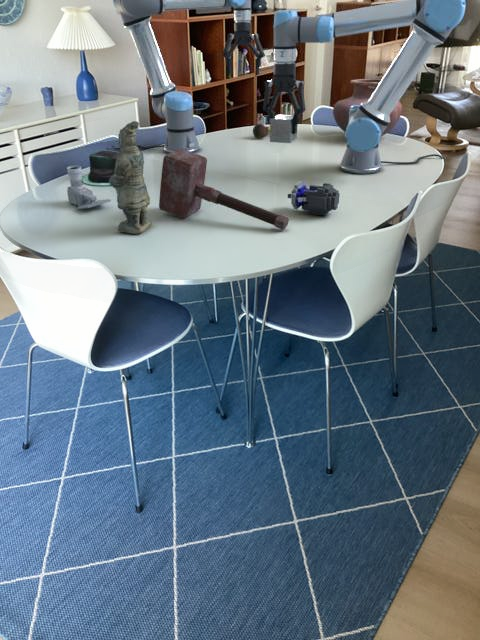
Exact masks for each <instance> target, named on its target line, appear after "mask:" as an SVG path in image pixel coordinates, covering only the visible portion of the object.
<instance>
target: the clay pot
mask: <svg viewBox="0 0 480 640" xmlns="http://www.w3.org/2000/svg"><path fill="white" fill-rule="evenodd" d="M381 80H382V79H379V78H377V79H376V78H358V79H351V80H350V84H351V85H352V86H353V93H352V95H351V96H349V97H348V98H345V99H341V100H338V101H337V102H335V103H334V104H333V109H332V115H333V119H334V121H335V123H336V125H337V126H338V127H339V128H340V130H341V131H342V132H344V133H345V131H346V128H347V126H348V123H349V112H350V107H351V106H353V105H361V104H362V103H364V102H367V101H369V99H370V98H371V96H372V95H373V93H374V91H375V90H376V88H377V87H378V85H379V84H380V82H381ZM402 112H403V105H402V103H401V102H400V100H399V101H398V103H397V104H396V106H395V107H394V109H393V110H392V112H391V113H390V123H389V124H388V126H387V127H386V129H385V130H384V132H383V133H382V135H381V136H380V138H381V137H383V136H385V135H386V134H388V133H390V132H391V131H392V130H393V129H394V128H395V126H396V125H397V123H399V120H400V118H401V115H402Z"/></svg>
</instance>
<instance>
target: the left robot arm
mask: <svg viewBox="0 0 480 640" xmlns="http://www.w3.org/2000/svg"><path fill="white" fill-rule="evenodd" d="M112 4H113V8H114V10H115V12H116V13H117V14H118V15H119V16H120V19H121V21H122V24H123V26H124V29H125V28H126V29H127V30H128V31H130V35H131V37H132V40H133V43H134V45H135V49H136V50H137V54H138V56H139V59H140V62H141V64H142V66H143V69H144V72H145V74H146V77H147V80H148V82H149V85H150V88H151V89H150V92H149V96H150V97H151V106H152V109H153V111H154V114H156V115H157V116H158V117H159V118H160V119H163V120H164V121H165V123H166V124H165V125H166V137H165V142H164V144H161V145H160V144H159V145H153V146H144V145H143V146H142V145H138V144H136V146H137V147H138V148H141V149H144V150H149V149H156V148H164V149H163V150H164V152H165V154H170V153H172V152H174V151H177V150H179V149H184V150H187V151H190V152H192V153H196V152H199V151H200V144H199V141H198V138H197V135H196V133H195V123H194V101H193V97H192V95H191V94H190V92H189V93H188V92H187V91H180V90H178V89H177V87H176V84H175V83H173V82H172V81H171V80H170V77H169V74H168V71H167V68H166V65H165V63H164V60H163V57H162V54H161V52H160V48H159V46H158V43H157V40H156V37H155V34H154V31H153V29H152V26H151V24H150V22H151V19H152V16H157V15H163V13H164V12H173V11H188V10H200V9H201V10H202V9H205V10H206V9H221V8H233V21H234V23H233V28H234V29H233V30H234V33H228V34H227V39H226V42H225V45H224V48H223V50H222V53H221V57H223V58H225V66H226V67H227V75H231V74H233V60H232V59H233V58H232V55H233V53H234V52H235V50H236V49H237V47H238V46H247V47H248V48H249V49H250V50H251V52H252V54H254V56H255V59H254V65H255V66H254V67H255V68H254V70H255V71H254V73H255V76H258V75H260V67H262V59H263V58H265V57H266V53H265V51H264V49H263V47H262V44H261V42H260V39H259V34H258V33H254V34H252V22H251V21H252V0H112ZM233 40H234V42H233ZM252 40H253V41H254V43H253V41H252ZM231 43H233V44H232V46H231ZM254 44H255V45H254ZM114 149H115V150H117V151H118V150H119V151H120V147H117V148H114Z"/></svg>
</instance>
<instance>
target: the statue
mask: <svg viewBox="0 0 480 640" xmlns="http://www.w3.org/2000/svg"><path fill="white" fill-rule="evenodd" d="M139 126H140V122H139V121H136V120H134V121H131V122H129V123H127V124H126V125H125V126H123V127H122V128H121V129H119V133H118V139H117V141H118V146H119V147H118V148H120V150H119V152H118V153H119V154H118V156H117V160H116V164H115V170H114V175H113V176H111V178H110V179H109V183H110V185H109V186H111V187H112V188H113V189H115V191H116V203H117V209H119V210H122V213H123V214H124V215H125V218H126V219H125V220H122V221H120V222H119V224H118V225H117V231H118V232H121V233H126V234H134V235H136V234H142V233H143V232H145V231H146V230H147V229H148V228H150V227H151V226H152V225H153V223H152V220H150V219H148V216H147V214H148V213H147V212H148V211H147V209H148V206H149V205H150V204H151V198H150V195H149V191H148V188H147V184H146V182H145V178H144V165H145V157H144V153H143V151H142V150H141V149H139V147H137V146H136V145H137V144H138V142H137V141H138V140H137V139H138V137H137V132H138V131H139V128H140V127H139Z"/></svg>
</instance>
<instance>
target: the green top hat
mask: <svg viewBox="0 0 480 640" xmlns="http://www.w3.org/2000/svg"><path fill="white" fill-rule="evenodd" d="M118 154H119V152H118V151H116V150H102V151H101V150H100V151H97V152H93V153H91V154H89V155H88V159H89V172H88V174H86V175H84V176H83V177H82V183H84V184H87V185H93V186H111V185H110V183H109V179H110V178H111V176H113V175H114V170H115V164H116V160H117V156H118Z"/></svg>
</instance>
